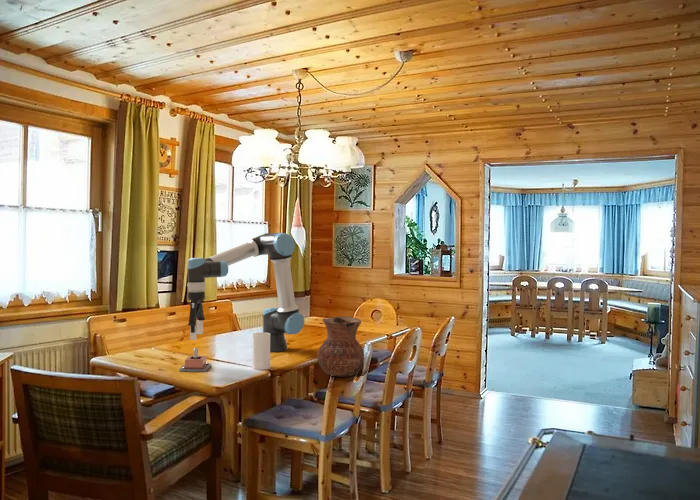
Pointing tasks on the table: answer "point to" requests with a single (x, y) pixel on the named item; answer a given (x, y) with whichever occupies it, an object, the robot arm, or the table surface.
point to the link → (195, 362)
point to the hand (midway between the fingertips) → (196, 336)
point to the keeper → (195, 368)
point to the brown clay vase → (341, 347)
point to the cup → (261, 351)
